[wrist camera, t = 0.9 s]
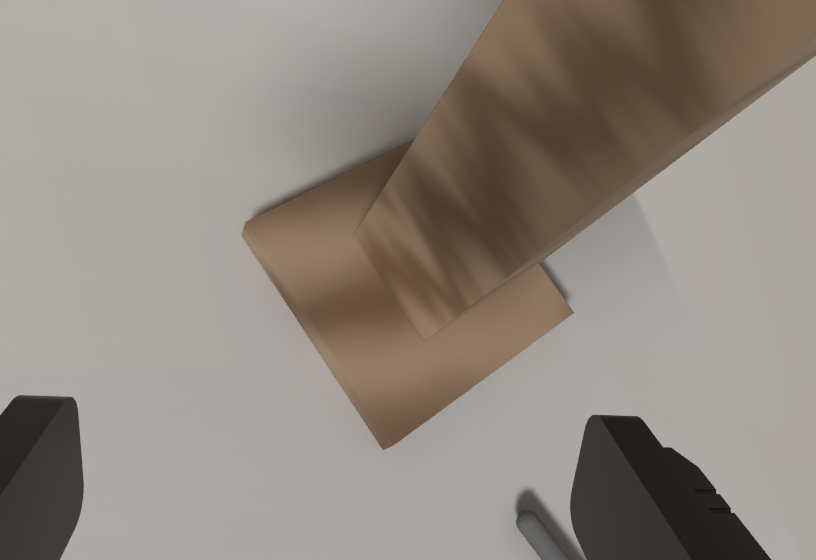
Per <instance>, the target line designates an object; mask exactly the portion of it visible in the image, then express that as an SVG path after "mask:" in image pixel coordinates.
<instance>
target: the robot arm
mask: <svg viewBox="0 0 816 560" xmlns="http://www.w3.org/2000/svg"><path fill="white" fill-rule="evenodd" d="M83 489H84V484H83V470H82V457H81V444H80V431H79V418H78V408H77V404H76V401H75V400H74V398H72V397H57V396H26V395H19V396H17V397H15V398H14V399H13V400H12V401H11V403H10V404H9V405H8V406H7V408H6V409H5V410H4V411H3V413H2V414H1V415H0V560H60V558H61V556H62V554H63V552H64V550H65V548H66V546H67V544H68V542H69V540H70V538H71V536H72V534H73V532H74V530H75V527H76V525H77V522H78V519H79V516H80V512H81V507H82V501H83ZM570 510H571V520H572V525H573V529H574V532H575V535H576V537H577V539H578V541H579V544H580V546H581V548H582V550H583V552H584V555H585V557H586V559H587V560H771V559H770V558H769V556H768V555H767V554H766V552H765V551H764V550H763V549H762V547H761V546H760V545H759V544H758V542H757V541H756V540H755V539H754V537H753V536H752V535H751V533H750V532H749V531H748V530H747V528H746V527H745V526H744V525H743V523H742V522H741V521H740V519H739V518H738V517H737V516H736V514H735V513H731V508H730V507H729V506H728V504H727V503H726V502H725V500H724V499H723V498H722V497H721V495H720V494H716V489H715V488H714V486H713V485H712V484H711V483H710V481H709V480H708V479H707V478H706V476H705V475H704V474H703V473H702V471H701V470H700V469H699V467H697V466H696V465H694V464H693V463H692V462H690V461H689V460H688V459H686V458H685V457H683V456H682V455H681V454H679V453H678V452H676V451H675V450H674V449H672V448H663V447H662V445H661V444H660V443H659V441H658V440H657V439H656V437H655V436H654V435H653V433H652V432H651V431H650V429H649V428H648V427H647V425H646V424H645V423H644V421H643V420H642V419H641V418H640V417H637V416H613V415H592V416H591V417H590V418H589V420H588V421H587V424H586V427H585V431H584V436H583V440H582V445H581V450H580V454H579V459H578V464H577V469H576V473H575V478H574V483H573V487H572V492H571V501H570Z"/></svg>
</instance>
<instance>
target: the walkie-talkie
mask: <svg viewBox="0 0 816 560" xmlns="http://www.w3.org/2000/svg"><path fill="white" fill-rule="evenodd" d="M516 524H517V527H518V529H519V530H520V532H521V533H522V534H523V536H524V537H525V538H526V539H527V541H528V542H529V543H530V545H531V546H532V547H533V549H534V550H535V551H536V553H537V554H538V555H539V557H540V558H541V559H542V560H570V559H569V557H568V556H567V555H566V554H565V552H564V551H563V550H562V548H561V547H560V546H559V544H558V543H557V542H556V540H555V539H554V538H553V537H552V535H551V534H550V533H549V531H548V530H547V529H546V527H545V526H544V525H543V523H542V522H541V521H540V519H539V518H538V517H537V516H536V514H535V513H533V512H531V511H523V512H522V513H520V514H519V515H518V517H517V521H516Z"/></svg>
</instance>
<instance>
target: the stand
mask: <svg viewBox="0 0 816 560" xmlns="http://www.w3.org/2000/svg"><path fill="white" fill-rule="evenodd" d="M814 56H816V0H503V2H502V3H501V5H500V6H499V8H498V10H497V11H496V13H495V14H494V16H493V17H492V19H491V21H490V22H489V24H488V25H487V27H486V28H485V30H484V32H483V33H482V35H481V36H480V38H479V39H478V41H477V43H476V44H475V46H474V47H473V49H472V50H471V52H470V54H469V55H468V57H467V58H466V60H465V61H464V63H463V65H462V66H461V68H460V69H459V71H458V72H457V74H456V76H455V77H454V79H453V80H452V82H451V83H450V85H449V87H448V88H447V90H446V91H445V93H444V94H443V96H442V97H441V99H440V101H439V102H438V104H437V105H436V107H435V108H434V110H433V112H432V113H431V115H430V116H429V118H428V119H427V121H426V123H425V124H424V126H423V127H422V129H421V130H420V132H419V134H418V135H417V137H416V138H415V139H414V140H412V141H410V142H408V143H406V144H404V145H402V146H400V147H398V148H396V149H394V150H392V151H390V152H388V153H386V154H384V155H382V156H380V157H378V158H376V159H374V160H372V161H370V162H367V163H365V164H363V165H361V166H359V167H357V168H355V169H353V170H351V171H349V172H347V173H345V174H343V175H341V176H339V177H337V178H335V179H333V180H331V181H329V182H327V183H325V184H323V185H321V186H318V187H316V188H314V189H312V190H310V191H308V192H306V193H304V194H302V195H300V196H298V197H296V198H294V199H292V200H290V201H288V202H286V203H284V204H282V205H280V206H278V207H276V208H274V209H271V210H269V211H267V212H265V213H263V214H261V215H259V216H257V217H255V218H253V219H251V220H249V221H247V222H245V225H244V229H243V232H242V237H243V238H244V240H245V241H246V243H247V244H248V246H249V247H250V249H251V250H252V252H253V253H254V255H255V256H256V258H257V259H258V261H259V262H260V264H261V265H262V267H263V268H264V270H265V271H266V273H267V275H268V276H269V278H270V279H271V281H272V282H273V284H274V285H275V287H276V288H277V290H278V291H279V293H280V294H281V296H282V297H283V299H284V300H285V302H286V303H287V305H288V306H289V308H290V309H291V311H292V312H293V314H294V315H295V317H296V318H297V320H298V321H299V323H300V325H301V326H302V328H303V329H304V331H305V332H306V334H307V335H308V337H309V338H310V340H311V341H312V343H313V344H314V346H315V347H316V349H317V350H318V352H319V353H320V355H321V356H322V358H323V359H324V361H325V362H326V364H327V365H328V367H329V368H330V370H331V371H332V373H333V375H334V376H335V378H336V379H337V381H338V382H339V384H340V385H341V387H342V388H343V390H344V391H345V393H346V394H347V396H348V397H349V399H350V400H351V402H352V403H353V405H354V406H355V408H356V409H357V411H358V412H359V414H360V415H361V417H362V418H363V420H364V421H365V423H366V425H367V426H368V428H369V429H370V431H371V432H372V434H373V435H374V437H375V438H376V440H377V441H378V443H379V444H380V446H381V447H382V449H383V450H384V449H386V448H389V447H391V446H393V445H394V444H396V443H397V442H399V441H400V440H401V439H403V438H404V437H405V436H407V435H408V434H409V433H411V432H412V431H414V430H415V429H416V428H418V427H419V426H420V425H422V424H423V423H424V422H426V421H427V420H429V419H430V418H431V417H433V416H434V415H435V414H437V413H438V412H439V411H441V410H442V409H444V408H445V407H446V406H448V405H449V404H450V403H452V402H453V401H454V400H456V399H457V398H459V397H460V396H461V395H463V394H464V393H465V392H467V391H468V390H469V389H471V388H472V387H474V386H475V385H476V384H478V383H479V382H480V381H482V380H483V379H484V378H486V377H487V376H489V375H490V374H491V373H493V372H494V371H495V370H497V369H498V368H499V367H501V366H502V365H504V364H505V363H506V362H508V361H509V360H510V359H512V358H513V357H514V356H516V355H517V354H519V353H520V352H521V351H523V350H524V349H525V348H527V347H528V346H529V345H531V344H532V343H534V342H535V341H536V340H538V339H539V338H540V337H542V336H543V335H544V334H546V333H547V332H549V331H550V330H551V329H553V328H554V327H555V326H557V325H558V324H559V323H561V322H562V321H564V320H565V319H566V318H568V317H569V316H570V315H572V314H573V313H574V312H573V310H572V309H571V308H570V306H569V305H568V303H567V302H566V301H565V299H564V298H563V296H562V295H561V294H560V292H559V291H558V289H557V288H556V287H555V285H554V284H553V282H552V281H551V280H550V278H549V277H548V275H547V274H546V273H545V271H544V270H543V268H542V267H541V266H540V264H539V263H540V262H541V261H543V260H544V259H545V258H547V257H548V256H549V255H551V254H552V253H553V252H555V251H556V250H557V249H559V248H560V247H561V246H563V245H564V244H565V243H567V242H568V241H569V240H571V239H572V238H573V237H575V236H576V235H577V234H579V233H580V232H581V231H583V230H584V229H585V228H587V227H588V226H589V225H591V224H592V223H593V222H595V221H596V220H597V219H599V218H600V217H601V216H603V215H604V214H605V213H607V212H608V211H609V210H611V209H612V208H613V207H615V206H616V205H617V204H619V203H620V202H621V201H623V200H624V199H625V198H627V197H628V196H629V195H631V194H632V193H633V192H635V191H636V190H637V189H638V188H640V187H641V186H643V185H644V184H645V183H647V182H648V181H649V180H651V179H652V178H653V177H655V176H656V175H657V174H659V173H660V172H661V171H662V170H664V169H665V168H666V167H668V166H669V165H670V164H672V163H673V162H674V161H676V160H677V159H679V158H680V157H681V156H682V155H684V154H685V153H686V152H688V151H689V150H690V149H692V148H693V147H694V146H695V145H697V144H698V143H700V142H701V141H702V140H704V139H705V138H706V137H708V136H709V135H710V134H712V133H713V132H714V131H716V130H717V129H718V128H720V127H721V126H722V125H724V124H725V123H726V122H728V121H729V120H730V119H732V118H733V117H734V116H736V115H737V114H738V113H740V112H741V111H742V110H744V109H745V108H746V107H748V106H749V105H750V104H752V103H753V102H754V101H756V100H757V99H758V98H760V97H761V96H762V95H764V94H765V93H766V92H768V91H769V90H770V89H772V88H773V87H774V86H775V85H777V84H778V83H780V82H781V81H782V80H784V79H785V78H786V77H788V76H789V75H790V74H791V73H793V72H794V71H796V70H797V69H798V68H800V67H801V66H802V65H804V64H805V63H806V62H808V61H809V60H810V59H812V58H813V57H814Z"/></svg>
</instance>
